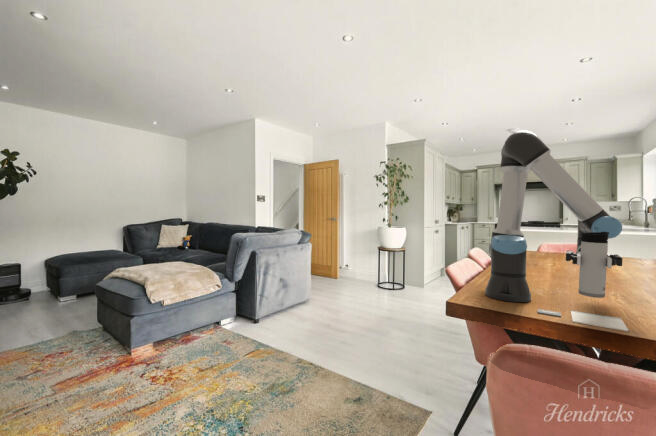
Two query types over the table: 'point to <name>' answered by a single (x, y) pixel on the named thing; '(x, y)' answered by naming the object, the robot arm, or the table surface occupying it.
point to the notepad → (598, 320)
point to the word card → (549, 312)
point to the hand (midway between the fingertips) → (594, 262)
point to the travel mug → (593, 264)
